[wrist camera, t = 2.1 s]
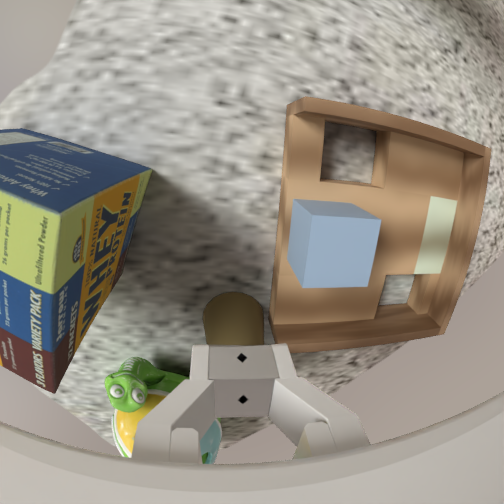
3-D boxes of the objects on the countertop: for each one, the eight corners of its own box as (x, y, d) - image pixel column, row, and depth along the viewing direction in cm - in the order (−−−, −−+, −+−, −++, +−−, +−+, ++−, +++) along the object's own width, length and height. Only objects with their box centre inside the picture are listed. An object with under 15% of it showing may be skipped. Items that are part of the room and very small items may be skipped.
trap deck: (286, 105, 22) (305, 96, 17) (455, 143, 24) (491, 148, 19) (268, 318, 29) (277, 353, 24) (419, 309, 31) (444, 334, 26)
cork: (211, 285, 27) (210, 368, 17) (272, 300, 28) (298, 382, 18) (196, 334, 29) (190, 420, 19) (252, 346, 30) (266, 430, 20)
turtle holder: (192, 317, 28) (183, 412, 17) (230, 421, 35) (236, 496, 24) (88, 331, 28) (47, 411, 17) (146, 427, 35) (137, 497, 24)
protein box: (124, 274, 26) (57, 398, 12) (3, 224, 22) (-96, 291, 8) (155, 167, 23) (65, 214, 8) (20, 125, 19) (-104, 142, 5)
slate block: (293, 198, 22) (312, 215, 18) (351, 202, 23) (381, 219, 18) (286, 258, 24) (302, 288, 20) (342, 259, 25) (367, 286, 20)
